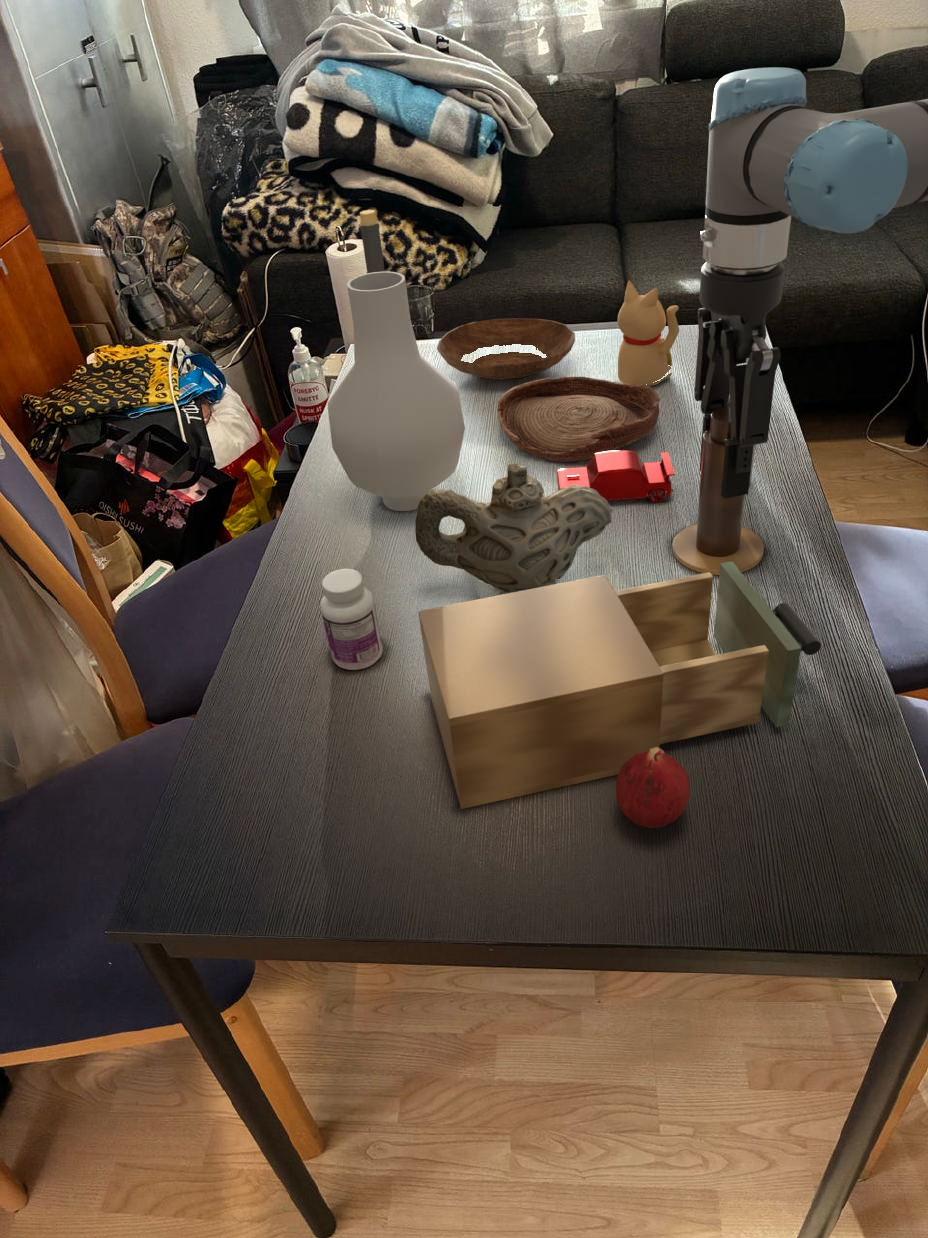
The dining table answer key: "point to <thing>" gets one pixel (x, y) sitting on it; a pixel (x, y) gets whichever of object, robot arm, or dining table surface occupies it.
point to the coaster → (703, 563)
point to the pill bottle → (350, 620)
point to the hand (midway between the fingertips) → (723, 481)
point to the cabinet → (540, 688)
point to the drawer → (726, 683)
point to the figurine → (645, 338)
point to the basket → (576, 416)
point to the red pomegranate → (652, 788)
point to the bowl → (501, 332)
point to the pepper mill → (717, 494)
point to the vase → (393, 401)
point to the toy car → (621, 476)
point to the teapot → (512, 530)
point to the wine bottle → (371, 242)
